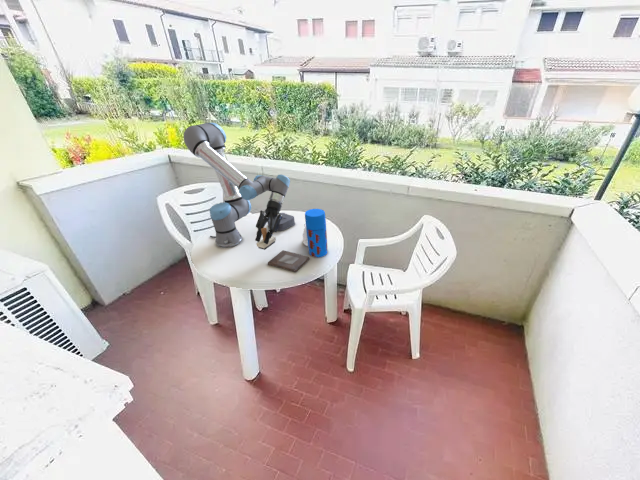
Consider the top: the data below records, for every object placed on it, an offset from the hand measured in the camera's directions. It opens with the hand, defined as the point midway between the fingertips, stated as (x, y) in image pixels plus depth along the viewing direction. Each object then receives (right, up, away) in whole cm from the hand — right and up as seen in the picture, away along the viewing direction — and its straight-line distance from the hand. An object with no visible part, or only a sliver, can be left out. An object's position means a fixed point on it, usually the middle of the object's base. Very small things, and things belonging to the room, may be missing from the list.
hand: (261, 242), depth 151 cm
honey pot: (+25, +2, +23) cm, 34 cm away
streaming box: (0, +15, +42) cm, 45 cm away
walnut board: (+14, -10, +5) cm, 18 cm away
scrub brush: (+1, -1, +5) cm, 5 cm away
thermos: (+29, -5, +13) cm, 32 cm away
